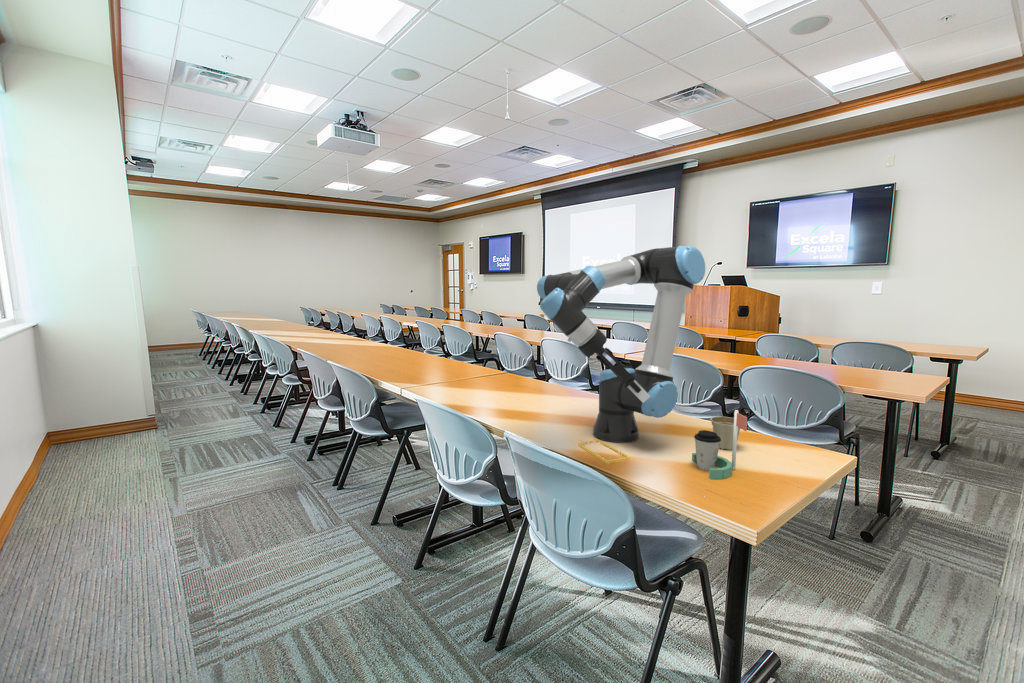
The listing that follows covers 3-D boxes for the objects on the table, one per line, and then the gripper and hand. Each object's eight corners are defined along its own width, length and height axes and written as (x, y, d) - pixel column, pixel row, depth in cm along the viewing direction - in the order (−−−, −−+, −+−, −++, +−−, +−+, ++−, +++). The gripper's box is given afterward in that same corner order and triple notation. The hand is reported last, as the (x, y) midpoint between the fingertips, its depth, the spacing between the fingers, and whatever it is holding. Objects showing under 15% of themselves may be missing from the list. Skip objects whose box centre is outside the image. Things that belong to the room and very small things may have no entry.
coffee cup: (725, 471, 124) (727, 436, 123) (702, 473, 123) (704, 438, 122) (709, 462, 131) (710, 428, 130) (687, 464, 129) (689, 430, 128)
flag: (730, 468, 126) (733, 409, 124) (734, 468, 126) (737, 409, 124) (741, 477, 120) (745, 415, 118) (745, 477, 120) (748, 415, 118)
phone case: (598, 443, 149) (598, 439, 149) (630, 461, 133) (630, 456, 133) (576, 446, 146) (577, 442, 146) (607, 465, 130) (607, 461, 130)
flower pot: (745, 446, 144) (747, 420, 143) (736, 454, 137) (738, 426, 136) (714, 440, 150) (716, 414, 149) (704, 447, 143) (706, 420, 142)
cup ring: (691, 461, 132) (692, 453, 131) (718, 461, 132) (718, 452, 131) (711, 479, 119) (711, 470, 119) (740, 478, 119) (740, 469, 119)
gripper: (573, 344, 128) (629, 402, 130) (581, 350, 115) (643, 415, 117) (592, 325, 127) (648, 384, 130) (602, 330, 114) (664, 395, 117)
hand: (646, 398), depth 123 cm, fingers closed
